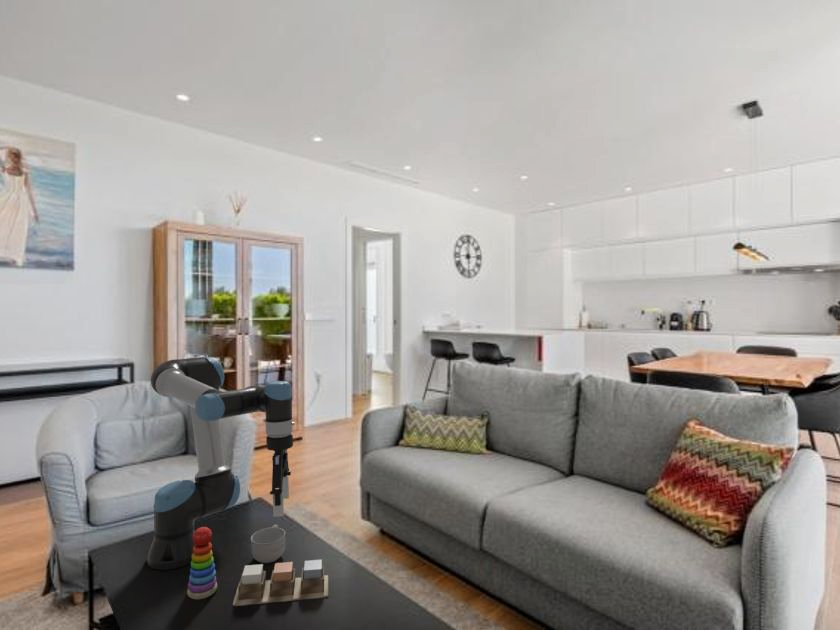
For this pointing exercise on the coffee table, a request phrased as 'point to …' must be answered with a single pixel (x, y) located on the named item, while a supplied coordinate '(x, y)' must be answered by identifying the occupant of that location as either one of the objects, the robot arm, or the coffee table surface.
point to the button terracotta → (283, 572)
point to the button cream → (252, 574)
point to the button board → (281, 590)
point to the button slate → (313, 569)
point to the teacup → (268, 544)
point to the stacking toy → (202, 566)
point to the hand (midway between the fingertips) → (281, 506)
